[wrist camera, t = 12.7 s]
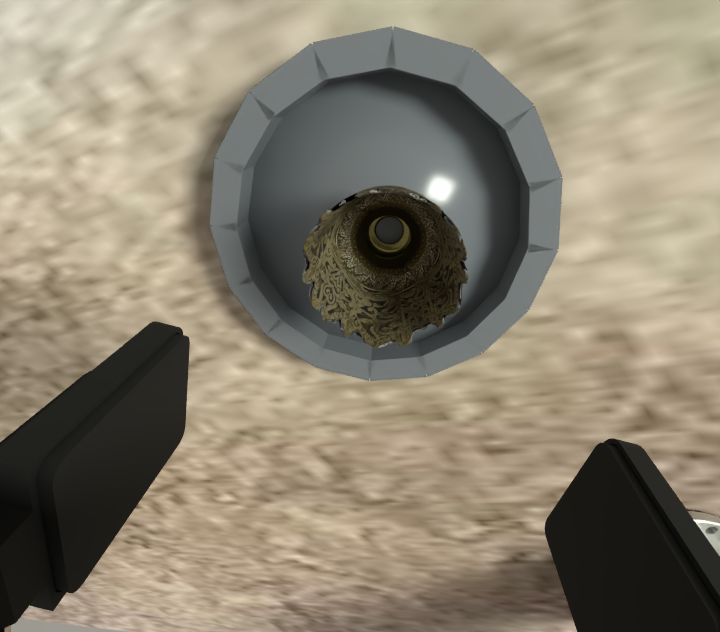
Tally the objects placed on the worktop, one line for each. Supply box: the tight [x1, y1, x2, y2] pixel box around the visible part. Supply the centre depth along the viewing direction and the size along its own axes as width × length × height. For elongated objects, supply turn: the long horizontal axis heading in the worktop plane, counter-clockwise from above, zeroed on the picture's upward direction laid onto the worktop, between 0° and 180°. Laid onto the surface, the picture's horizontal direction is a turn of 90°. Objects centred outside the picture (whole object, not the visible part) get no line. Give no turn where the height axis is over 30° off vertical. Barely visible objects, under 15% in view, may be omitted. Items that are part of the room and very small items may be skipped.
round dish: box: [209, 27, 562, 381], centre depth 25 cm, size 20×20×3 cm
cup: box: [302, 185, 469, 348], centre depth 22 cm, size 8×7×8 cm
